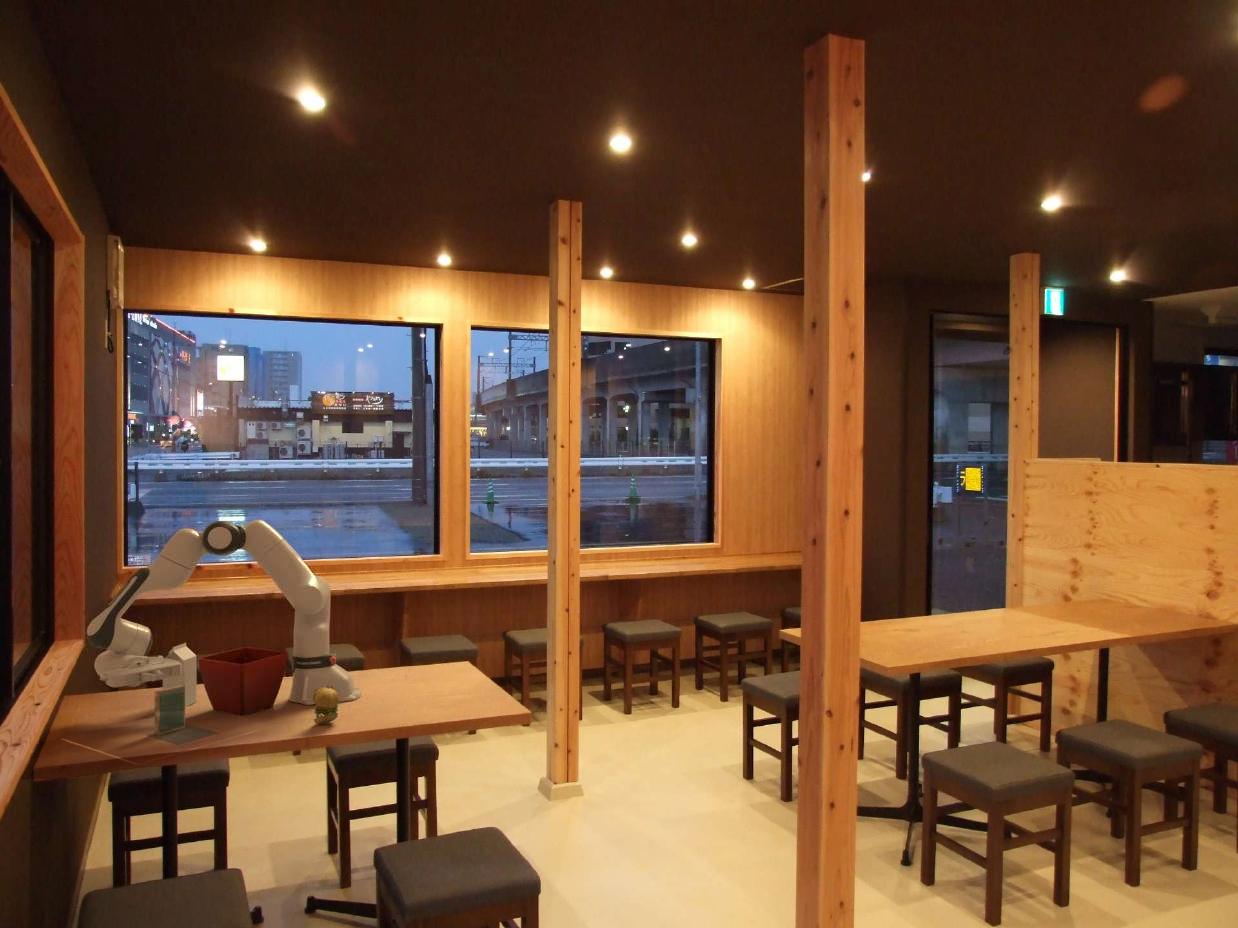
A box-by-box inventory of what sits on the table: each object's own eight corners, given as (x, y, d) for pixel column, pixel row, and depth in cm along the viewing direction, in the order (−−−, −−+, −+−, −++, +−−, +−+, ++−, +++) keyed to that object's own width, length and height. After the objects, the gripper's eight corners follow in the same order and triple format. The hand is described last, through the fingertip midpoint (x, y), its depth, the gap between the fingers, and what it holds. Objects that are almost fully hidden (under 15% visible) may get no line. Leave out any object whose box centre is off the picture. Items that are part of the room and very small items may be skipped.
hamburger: (330, 719, 273) (330, 679, 273) (344, 723, 268) (344, 682, 268) (307, 725, 267) (307, 684, 267) (321, 729, 262) (321, 688, 262)
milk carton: (196, 702, 292) (196, 642, 292) (184, 708, 285) (183, 647, 285) (175, 701, 293) (175, 642, 293) (162, 707, 286) (162, 647, 286)
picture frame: (154, 733, 258) (154, 691, 258) (181, 726, 265) (181, 685, 265) (158, 734, 257) (158, 692, 257) (185, 727, 264) (185, 686, 263)
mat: (145, 736, 257) (145, 734, 257) (185, 725, 267) (185, 724, 267) (177, 745, 248) (177, 744, 248) (218, 734, 258) (218, 732, 258)
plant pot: (290, 704, 289) (290, 651, 289) (242, 720, 272) (242, 664, 272) (246, 697, 297) (245, 646, 297) (196, 713, 280) (196, 658, 280)
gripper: (96, 666, 262) (122, 673, 255) (165, 654, 280) (191, 660, 272) (96, 688, 262) (122, 695, 255) (165, 674, 280) (191, 681, 272)
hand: (158, 677), depth 263 cm, fingers closed
